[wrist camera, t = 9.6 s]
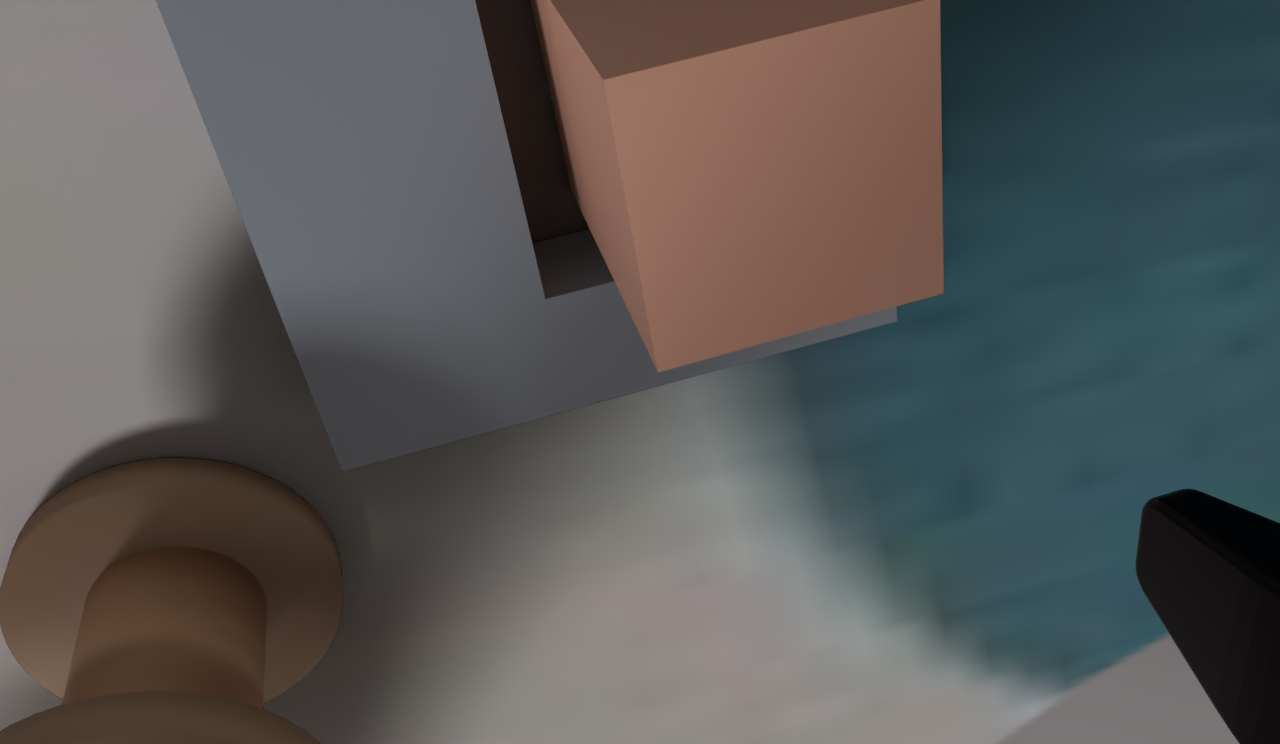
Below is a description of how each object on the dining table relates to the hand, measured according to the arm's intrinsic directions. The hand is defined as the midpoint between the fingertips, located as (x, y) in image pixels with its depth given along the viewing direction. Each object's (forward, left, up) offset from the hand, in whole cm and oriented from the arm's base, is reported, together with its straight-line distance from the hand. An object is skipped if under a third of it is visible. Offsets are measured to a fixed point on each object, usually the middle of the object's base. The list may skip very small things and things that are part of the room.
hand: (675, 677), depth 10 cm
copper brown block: (+1, -3, -12) cm, 12 cm away
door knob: (-7, +8, -11) cm, 15 cm away
